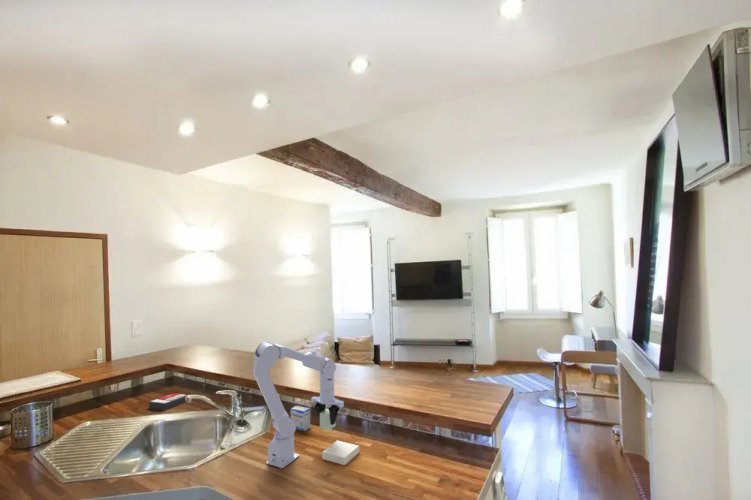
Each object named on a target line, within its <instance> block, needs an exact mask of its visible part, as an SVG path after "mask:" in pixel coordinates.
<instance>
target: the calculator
mask: <svg viewBox="0 0 751 500" xmlns="http://www.w3.org/2000/svg"><path fill="white" fill-rule="evenodd" d="M186 396H187V394H179V393H170V394H167V395H164V396H161V397H158V398H156V399H154V400H153V399H152V400H150V401H149V402H148V409H149V410H154V411H155V410H157V411H163V412H164V411H167V410H169V409H171V408H173V407H175V406H179V405H180V404H183V403H185V397H186Z"/></svg>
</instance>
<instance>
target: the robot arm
mask: <svg viewBox="0 0 751 500" xmlns="http://www.w3.org/2000/svg"><path fill="white" fill-rule="evenodd" d="M253 357H254V358H253V367H252V374H253V376H254V379H255V381H256V383H257V385H258V387H259V390H260V392H261V395H262V396H263V398H264V400H265V403H266V405H267V407H268V409H269V412H270V416H271V418H272V423H271V424H272V427H273V429H275V431H274V433H273V439H271V441H269V443H268V446H267V461H265V462H266V464H267V465H271V466H274V467H278V468H280V469H283V468H285V467H287V465H289V464H290V463H292V462H293V461H294V460H297V458H299V457H300V454H298V453H295V432H296V431H297V430H296V424H295V422H294V421H292V420H291V417H290V415H289V414H288V412H287V411H286V409H285V407H284V404H283V402H282V400H281V398H280V395H279V394H278V392H277V390H276V387H275V385H274V383H273V381H272V377H271V376H270V374H269V373H270V370H271V368H272V366H273V365H274V364H275V363H276V362H277V361H278V359H279V360H282V359H284V358H289V359H291V360H295V361H298V362H301V363H302V366H303V367H306V368H309V369H311V370H314V371H317V372H319V396H312V397H311V398H310V399H311V400H310V402H311V404H314V403H315V404H314V406H313V407H314V410H315V411H316V412H317V415H318V418H319V420H320V412H322V411H324V410H325V409H326V405H328V406H329V407H328V408H327V409H329V413H330V422H331V425H333V424H335V421H336V419H337V415H338V413H339V410H340V408H341V409H342V408H344V406H345V403H344V402H345V401H344V400H340V399H338V398H336V397H335V372H336V369H337V365H336V363H335V361H334V360H333V359H330V358H329V357H327V356H326V355H324V354H323V355H319V354H316V351H314V350H312V351H307V352H306V353H304V352H301V351H298V350H295V349H293V348H290V347H288V346H286V345H283V344H280V343H279V344H277V343H273V342H272V343H271V342H269V341H263V342H261V343H259V344H258V345H257V347H256V349H255V351H254V353H253Z"/></svg>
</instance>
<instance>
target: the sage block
mask: <svg viewBox="0 0 751 500" xmlns="http://www.w3.org/2000/svg"><path fill="white" fill-rule="evenodd" d="M336 426H337V425H336V421H335V424H333V425H331V422H330V413H329V409H328V408H325V410H324V411H322V412H320V419H319V429H322V430H327V431H330V430H332V429H333V428H335V427H336Z"/></svg>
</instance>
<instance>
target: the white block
mask: <svg viewBox="0 0 751 500" xmlns="http://www.w3.org/2000/svg"><path fill="white" fill-rule="evenodd" d="M321 453H322V454H321V455H322V456H321V457H322V460H324V461H327V462H333V463H336V464H339V465H342V466H345V465H347V464H348V463H349V462H350V461H351V460H352V459H354V458H355V457H356V456H357V455H358V454H359V453H360V445H357V444H353V443H350V442H345V441H341V440H335V442H333V443H332V444H330V446H327V448H325V449H324V450H322V452H321Z"/></svg>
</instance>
